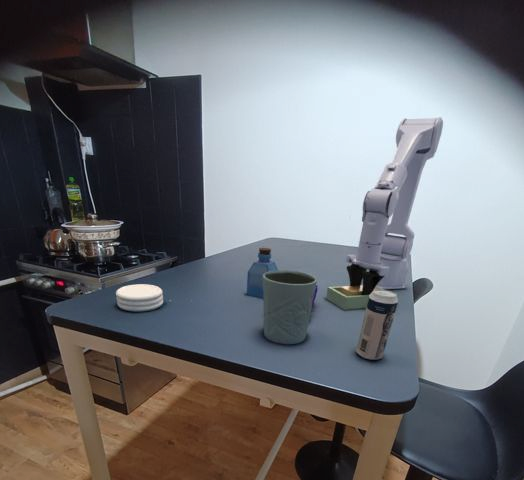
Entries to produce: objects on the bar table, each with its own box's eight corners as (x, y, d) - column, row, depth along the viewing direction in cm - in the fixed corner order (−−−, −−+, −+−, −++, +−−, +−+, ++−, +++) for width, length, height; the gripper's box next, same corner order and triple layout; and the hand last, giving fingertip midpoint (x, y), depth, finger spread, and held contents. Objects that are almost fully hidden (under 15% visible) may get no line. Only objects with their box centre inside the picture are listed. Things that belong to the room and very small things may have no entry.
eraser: (368, 296, 89) (370, 285, 88) (378, 301, 86) (381, 289, 84) (338, 298, 86) (340, 286, 84) (347, 304, 82) (350, 291, 81)
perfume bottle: (276, 293, 88) (280, 248, 82) (267, 299, 83) (270, 252, 77) (257, 289, 90) (259, 245, 85) (246, 294, 85) (248, 248, 80)
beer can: (383, 363, 56) (402, 299, 51) (356, 359, 57) (371, 295, 52) (380, 351, 61) (397, 290, 55) (355, 347, 61) (369, 287, 56)
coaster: (146, 294, 80) (144, 281, 78) (172, 304, 75) (171, 290, 73) (108, 304, 73) (106, 289, 71) (135, 316, 68) (133, 300, 66)
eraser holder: (370, 295, 92) (372, 284, 91) (390, 305, 85) (393, 294, 84) (325, 298, 87) (327, 287, 85) (344, 309, 80) (346, 297, 78)
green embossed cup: (307, 349, 59) (316, 286, 54) (254, 341, 61) (258, 280, 55) (309, 328, 68) (317, 272, 63) (263, 322, 69) (267, 267, 64)
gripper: (341, 237, 83) (332, 287, 90) (377, 248, 71) (364, 305, 78) (362, 238, 86) (352, 286, 92) (401, 248, 74) (386, 303, 80)
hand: (359, 295), depth 85 cm, fingers closed on eraser, 4 cm apart
